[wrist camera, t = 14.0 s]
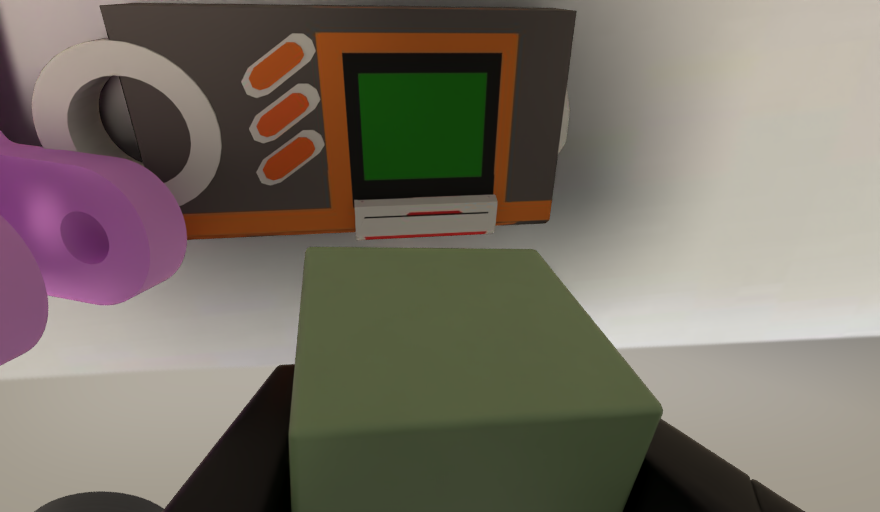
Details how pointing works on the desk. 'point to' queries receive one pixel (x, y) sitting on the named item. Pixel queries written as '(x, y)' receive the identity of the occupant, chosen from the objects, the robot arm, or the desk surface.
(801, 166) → the desk surface
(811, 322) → the desk surface
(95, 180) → the bracket
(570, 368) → the block
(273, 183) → the electronic device
